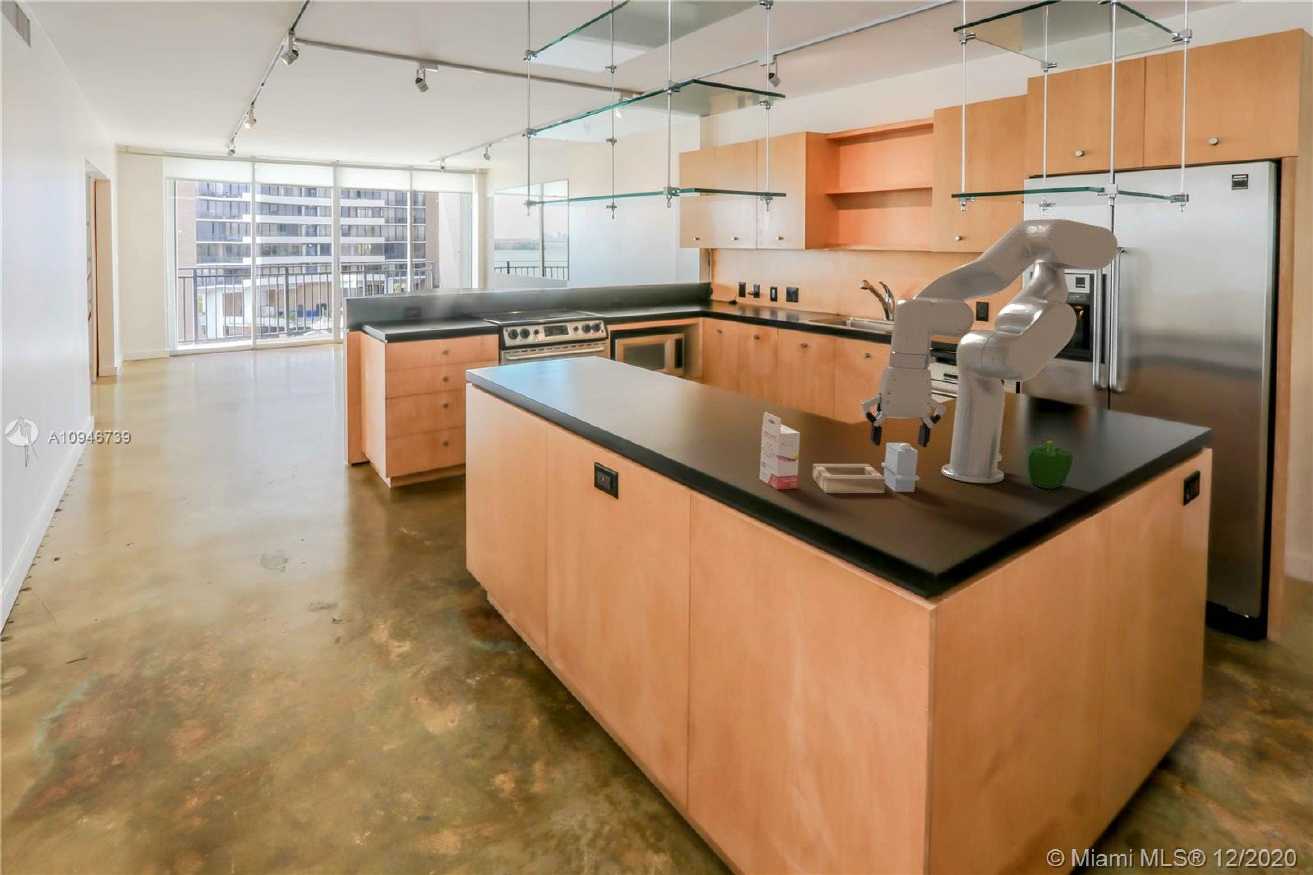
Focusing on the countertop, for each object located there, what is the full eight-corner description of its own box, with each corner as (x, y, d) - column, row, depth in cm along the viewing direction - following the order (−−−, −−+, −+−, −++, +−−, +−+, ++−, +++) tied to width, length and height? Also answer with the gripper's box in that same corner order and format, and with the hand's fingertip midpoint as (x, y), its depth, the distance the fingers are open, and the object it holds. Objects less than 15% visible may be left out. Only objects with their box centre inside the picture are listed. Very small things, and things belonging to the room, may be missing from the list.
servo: (898, 479, 168) (902, 435, 166) (917, 494, 157) (922, 449, 155) (880, 479, 168) (883, 435, 166) (898, 494, 157) (902, 448, 155)
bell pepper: (1037, 477, 170) (1043, 433, 168) (1075, 487, 164) (1081, 441, 161) (1015, 483, 166) (1021, 437, 164) (1052, 493, 159) (1059, 446, 157)
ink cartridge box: (798, 488, 160) (802, 418, 157) (776, 490, 159) (780, 419, 155) (779, 477, 168) (783, 409, 165) (758, 478, 167) (761, 410, 163)
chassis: (812, 477, 168) (812, 463, 168) (867, 477, 169) (868, 463, 168) (825, 492, 158) (826, 478, 157) (884, 492, 158) (885, 478, 157)
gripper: (943, 360, 161) (933, 442, 164) (860, 357, 160) (852, 439, 163) (959, 365, 153) (947, 450, 157) (872, 362, 152) (863, 448, 156)
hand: (899, 445), depth 160 cm, fingers open, 9 cm apart
